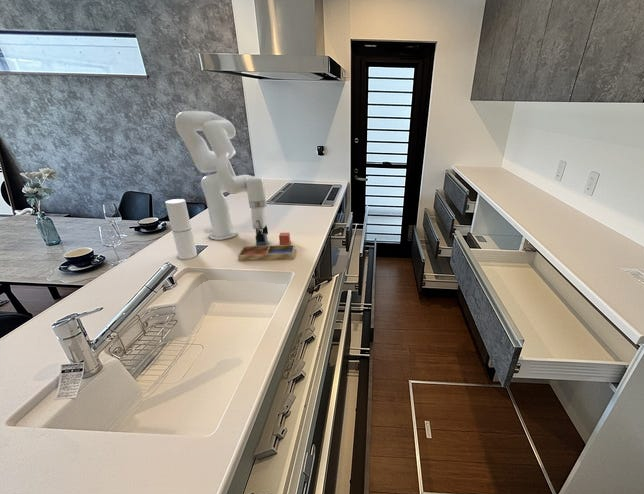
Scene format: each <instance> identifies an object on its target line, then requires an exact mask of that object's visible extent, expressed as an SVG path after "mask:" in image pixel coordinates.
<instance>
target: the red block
mask: <svg viewBox="0 0 644 494" xmlns="http://www.w3.org/2000/svg"><path fill="white" fill-rule="evenodd" d="M278 240H279V245H291V233H290V232H279V235H278Z"/></svg>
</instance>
